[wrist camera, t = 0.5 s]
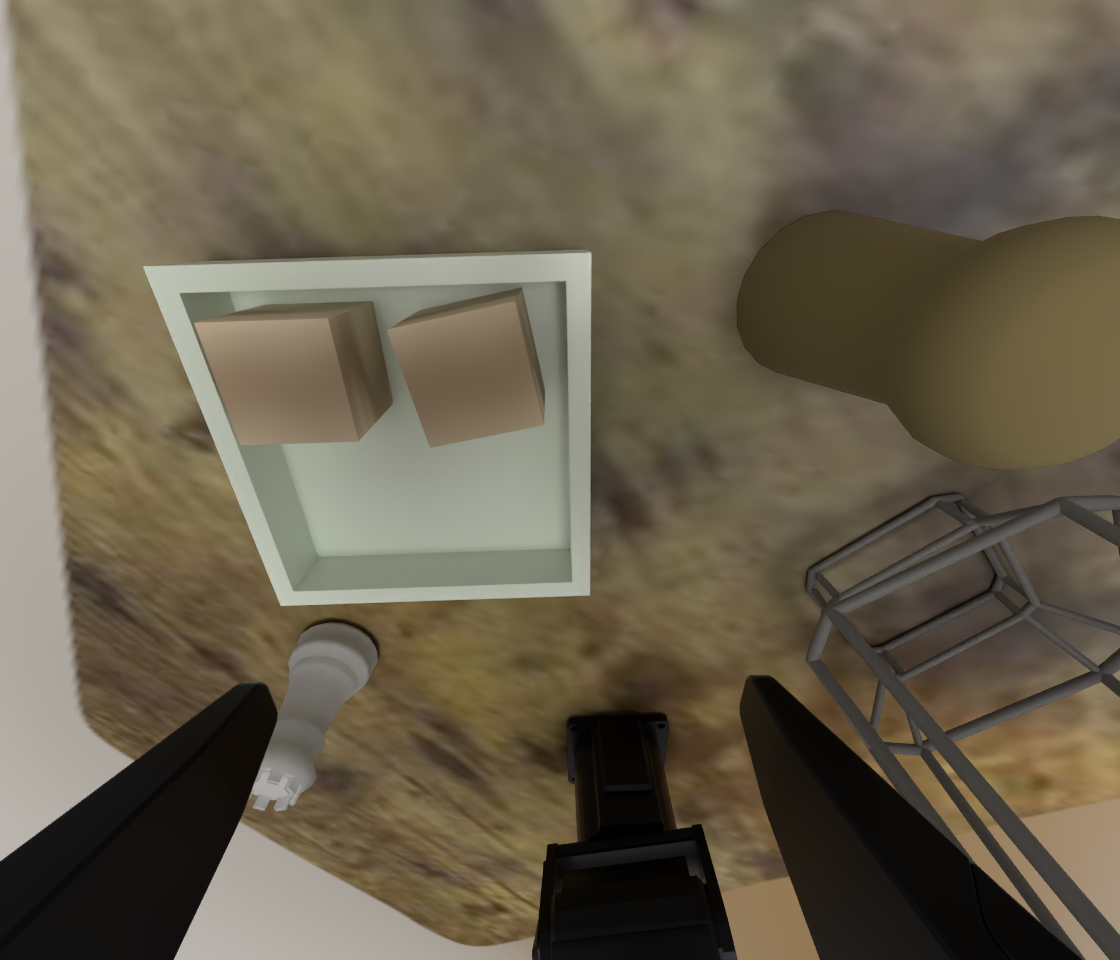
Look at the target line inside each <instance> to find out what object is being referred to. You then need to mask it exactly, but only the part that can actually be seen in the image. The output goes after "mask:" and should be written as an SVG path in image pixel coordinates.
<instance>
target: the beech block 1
mask: <svg viewBox="0 0 1120 960" xmlns="http://www.w3.org/2000/svg"><path fill="white" fill-rule="evenodd" d="M194 324H195V327H196V330H197V332H198V335H199V338H200V340H201V343H202V346H203V348H204V351H205V353H206V356H207V359H208V361H209V364H210V367H211V369H212V372H213V375H214V377H215V380H216V382H217V385H218V388H219V390H220V393H221V396H222V398H223V401H224V404H225V406H226V409H227V411H228V414H229V417H230V419H231V422H232V425H233V427H234V430H235V433H236V435H237V438H238V440H239V443H240V445H271V444H302V443H333V442H359V441H360V439H361V438H362V437H363V436H364V435H365V434H366V433H367V432H368V431H369V430H370V429H371V427H372V426H373V425H374V424H375V423H376V422H377V421H378V420H379V419H380V418H381V416H382V415H383V414H384V413H385V412H386V411H387V410H388V409H389V408H390V407H391V406H392V404H393V399H392V394H391V389H390V384H389V379H388V374H387V369H386V365H385V360H384V355H383V350H382V345H381V340H380V335H379V330H378V325H377V320H376V315H375V310H374V305H373V301H358V302H326V303H294V304H265V305H261V306H257V307H253V308H250V309H246V310H242V311H238V312H234V313H230V314H226V315H222V316H218V317H214V318H210V319H207V320H203V321H199V322H195V323H194Z"/></svg>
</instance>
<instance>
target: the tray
mask: <svg viewBox="0 0 1120 960" xmlns="http://www.w3.org/2000/svg"><path fill="white" fill-rule="evenodd" d="M143 268H144V270H145V273H146V275H147V278H148V280H149V283H150V285H151V287H152V290H153V292H154V295H155V297H156V300H157V302H158V305H159V307H160V310H161V312H162V315H163V317H164V319H165V322H166V324H167V327H168V329H169V332H170V334H171V337H172V339H173V342H174V344H175V347H176V349H177V351H178V354H179V356H180V359H181V361H182V364H183V366H184V369H185V371H186V374H187V376H188V379H189V381H190V383H191V386H192V388H193V391H194V393H195V396H196V398H197V401H198V403H199V406H200V408H201V411H202V413H203V415H204V418H205V420H206V423H207V425H208V428H209V430H210V433H211V435H212V438H213V440H214V443H215V445H216V447H217V450H218V452H219V455H220V457H221V460H222V462H223V465H224V467H225V470H226V472H227V475H228V477H229V479H230V482H231V484H232V487H233V489H234V492H235V494H236V497H237V499H238V502H239V504H240V507H241V509H242V511H243V514H244V516H245V519H246V521H247V524H248V526H249V529H250V531H251V534H252V536H253V539H254V541H255V543H256V546H257V548H258V551H259V553H260V556H261V558H262V561H263V563H264V566H265V568H266V571H267V573H268V575H269V578H270V580H271V583H272V585H273V588H274V590H275V593H276V595H277V598H278V600H279V603H280V605H281V606H291V605H321V604H350V603H380V602H410V601H440V600H470V599H499V598H529V597H559V596H589V595H590V459H591V252H589V251H587V250H585V249H579V250H547V251H514V252H482V253H450V254H417V255H385V256H352V257H320V258H288V259H255V260H223V261H201V262H190V263H178V264H166V265H154V266H143ZM521 287H522V289H523V294H524V298H525V302H526V307H527V311H528V316H529V320H530V325H531V329H532V333H533V338H534V342H535V347H536V351H537V356H538V360H539V364H540V369H541V373H542V378H543V382H544V387H545V412H544V425H543V426H538V427H533V428H528V429H523V430H518V431H513V432H508V433H503V434H498V435H493V436H488V437H482V438H477V439H472V440H467V441H462V442H457V443H452V444H447V445H442V446H437V447H432V448H430V446H429V444H428V441H427V438H426V436H425V433H424V430H423V427H422V425H421V422H420V419H419V416H418V414H417V411H416V408H415V406H414V403H413V400H412V397H411V395H410V392H409V389H408V387H407V384H406V381H405V378H404V376H403V373H402V370H401V367H400V365H399V362H398V359H397V357H396V354H395V351H394V348H393V346H392V343H391V340H390V338H389V335H388V332H387V329H389V328H391V327H392V326H394V325H396V324H397V323H399V322H401V321H402V320H404V319H406V318H407V317H409V316H411V315H412V314H414V313H416V312H417V311H419V310H423V309H427V308H432V307H436V306H440V305H445V304H449V303H454V302H458V301H463V300H467V299H472V298H476V297H481V296H485V295H490V294H494V293H499V292H503V291H508V290H512V289H517V288H521ZM358 301H373V305H374V310H375V315H376V320H377V325H378V330H379V335H380V340H381V345H382V350H383V355H384V360H385V365H386V369H387V374H388V379H389V384H390V389H391V394H392V399H393V404H392V406H391V407H390V408H389V409H388V410H387V411H386V412H385V413H384V414H383V415H382V416H381V418H380V419H379V420H378V421H377V422H376V423H375V424H374V425H373V426H372V427H371V429H370V430H369V431H368V432H367V433H366V434H365V435H364V436H363V437H362V438H361V439H360V441H359V442H333V443H302V444H271V445H240V443H239V440H238V438H237V435H236V433H235V430H234V427H233V425H232V422H231V419H230V417H229V414H228V411H227V409H226V406H225V404H224V401H223V398H222V396H221V393H220V390H219V388H218V385H217V382H216V380H215V377H214V375H213V372H212V369H211V367H210V364H209V361H208V359H207V356H206V353H205V351H204V348H203V346H202V343H201V340H200V338H199V335H198V332H197V330H196V327H195V324H194V323H195V322H199V321H203V320H207V319H210V318H214V317H218V316H222V315H226V314H230V313H234V312H238V311H242V310H246V309H250V308H253V307H257V306H261V305H265V304H294V303H326V302H358Z"/></svg>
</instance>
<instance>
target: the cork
mask: <svg viewBox="0 0 1120 960" xmlns="http://www.w3.org/2000/svg"><path fill="white" fill-rule="evenodd" d="M737 327H738V330H739V333H740V335H741V338H742V341H743V344H744V347H745V348H746V349H747V350H748V352H749V353H750V354H751V355H752V356H753V357H754V359H755V360H756V361H757V362H758V363H760V364H761V365H763V366H765V367H767V368H769V369H771V370H773V371H775V372H777V373H781V374H784V375H788V376H791V377H794V378H798V379H801V380H805V381H808V382H812V383H815V384H818V385H822V386H825V387H829V388H832V389H836V390H839V391H842V392H846V393H849V394H853V395H856V396H860V397H863V398H866V399H870V400H873V401H877V402H880V403H884V404H887V405H888V406H889V408H890V409H891V410H892V412H893V413H894V414H895V416H896V417H897V418H898V420H899V421H900V422H901V424H902V425H903V426H904V427H905V429H906V430H907V431H908V432H909V433H910V435H911V436H912V437H913V438H914V439H915V440H917V441H919V442H920V443H922V444H924V445H925V446H927V447H929V448H930V449H932V450H934V451H936V452H938V453H940V454H942V455H944V456H946V457H948V458H950V459H951V460H953V461H955V462H959V463H963V464H968V465H972V466H976V467H982V468H991V469H1000V470H1009V471H1010V470H1024V469H1035V468H1042V467H1048V466H1054V465H1060V464H1066V463H1069V462H1071V461H1074V460H1076V459H1079V458H1082V457H1084V456H1087V455H1089V454H1092V453H1094V452H1097V451H1099V450H1102V449H1104V448H1105V447H1107V446H1108V445H1110V444H1112V443H1113V442H1115V441H1116V440H1118V439H1120V219H1115V218H1109V217H1103V216H1081V217H1065V218H1060V219H1055V220H1050V221H1045V222H1040V223H1035V224H1030V225H1025V226H1021V227H1018V228H1015V229H1012V230H1008V231H1005V232H1002V233H998V234H996V235H994V236H992V237H990V238H988V239H986V240H984V241H979V240H975V239H970V238H966V237H961V236H956V235H952V234H947V233H942V232H938V231H933V230H929V229H924V228H919V227H915V226H910V225H905V224H901V223H896V222H892V221H887V220H882V219H878V218H873V217H868V216H864V215H859V214H853V213H847V212H841V211H834V210H831V211H827V212H822V213H817V214H812V215H807V216H805V217H803V218H801V219H799V220H797V221H796V222H794V223H792V224H790V225H789V226H787V227H785V228H783V229H781V230H780V231H779V232H778V233H777V234H776V235H775V236H774V237H773V238H772V239H771V240H770V241H769V242H768V243H767V244H766V245H765V246H764V247H763V248H762V249H761V250H760V251H759V252H758V254H757V255H756V257H755V259H754V260H753V262H752V264H751V265H750V267H749V269H748V270H747V272H746V274H745V275H744V279H743V282H742V286H741V289H740V293H739V296H738V300H737Z"/></svg>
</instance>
